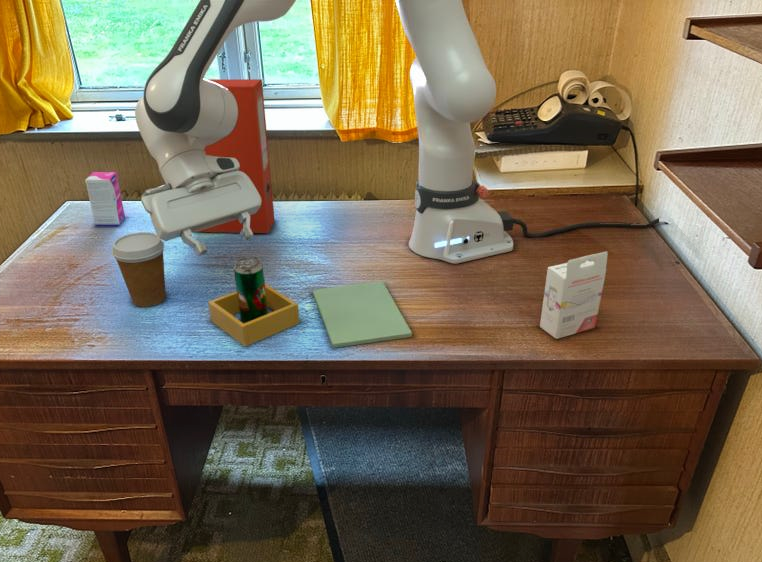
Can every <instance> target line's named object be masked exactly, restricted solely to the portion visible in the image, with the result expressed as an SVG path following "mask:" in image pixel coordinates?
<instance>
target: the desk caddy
mask: <svg viewBox="0 0 762 562" xmlns="http://www.w3.org/2000/svg"><path fill="white" fill-rule="evenodd" d="M265 288H266V298H267V307H268V308H270V309H271V310H273V311H272V312H268V314H266V315H264V316H262V317H259V318H257V319H254V320H252V321H249V322H247V323H242V322H241V320H239V319H238V318H236V317H235V316H234V315H237V314H238V313H239V314H240V312H239V305H238V298H237V290H236V291H232V292H230V293H228V294H225V295H223V296H220V297H217V298H215V299H212V300H209V301H207V306H208V312H209V317H210V322H212V324H214V325H216V326H217V327H218V328H219V329H220V330H222V331H223V332H225V333H226V334H228V335H229V336H230V337H231V338H232V339H234V340H235V341H236V342H238V343H239V344H241V345H242V346H243V347H245V348H246V347H248V346H250V345H252V344H255V343H257V342H260V341H262V340H264V339H267V338H269V337H271V336H273V335H276V334H278V333H281V332H283V331H285V330H287V329H290V328H292V327H294V326H297V325H299V324H300V323H301V322H300V312H299V310H300V309H299V303H297V302H295V301H294V300H292V299H291V298H289V297H288V296H286V295H284V294H282V293H281V292H279V291H278V290H276V289H275V288H273V287H271V286H270V285H268V284H266V283H265Z"/></svg>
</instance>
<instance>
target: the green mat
mask: <svg viewBox="0 0 762 562" xmlns="http://www.w3.org/2000/svg"><path fill="white" fill-rule="evenodd" d="M312 295H313V299H314V301H315V303H316V306H317V309H318V312H319V314H320V318H321V320H322V322H323V325H324V328H325V330H326V333H327V336H328V338H329V339H328V340H329V341H330V344H331V347H332V348H333V349H337V348H342V347H343V348H344V347H349V346H357V345H358V346H359V345H365V344H370V343H371V344H373V343H377V342H379V343H380V342H387V341H393V340H399V339H406V338H412V337H413V332H412V330H411V329H410V327H409V325H408V323H407V322H406V319H405V318H404V316H403V315H402V313H401V311H400V310H399V307H398V305H397V304H396V302H395V300H394V299H393V297H392V295H391V293H390V292H389V290H388V288H387V286H386V284H385V282H384V281H383V280H380V281H379V280H377V281H371V282H364V283H356V284H348V285H339V286H332V287H324V288H323V287H322V288H315V289H312Z"/></svg>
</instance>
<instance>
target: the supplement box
mask: <svg viewBox="0 0 762 562" xmlns="http://www.w3.org/2000/svg"><path fill="white" fill-rule="evenodd" d="M84 181H85V186H86V190H87V195H88V199H89V203H90V208H91V212H92V217H93V221H94V226H95V227H96V228H101V227H102V228H103V227H105V228H106V227H109V228H113V227H119V226H120V225H121V223H122V222H123V221H124V220H125V218H126V214H125V209H124V205H123V199H122V195H121V194H122V193H121V190H120V185H119V180H118V174H117V172H115V171H105V172H104V171H99V172H98V171H93V172H92V173H91V174H90V175H89V176H88V177H86V179H84Z"/></svg>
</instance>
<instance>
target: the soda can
mask: <svg viewBox="0 0 762 562" xmlns="http://www.w3.org/2000/svg"><path fill="white" fill-rule="evenodd" d="M233 276H234V283H235V290H236V291H237V298H238V305H239V319H240V320H239V321H241V322H242V323H247V322H249V321H252V320H254V319H257V318H259V317H262V316H264V315H266V314H269V307H268V306H267V298H266V288H265V284H266V280H265V271H264V265H263V264H262V262H261V259H260V258H258V257H255V256H244V257H241V258H239V259H237V260H236V261H235V263H234V267H233Z"/></svg>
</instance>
